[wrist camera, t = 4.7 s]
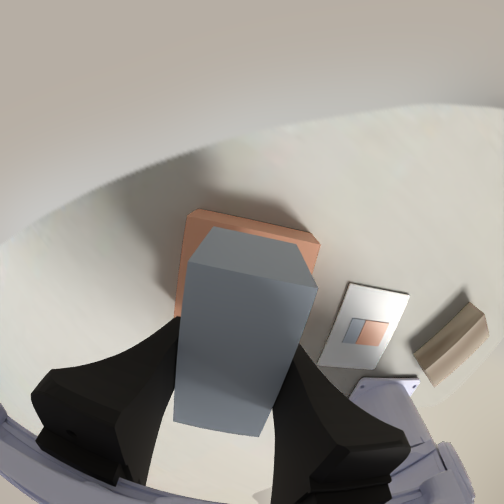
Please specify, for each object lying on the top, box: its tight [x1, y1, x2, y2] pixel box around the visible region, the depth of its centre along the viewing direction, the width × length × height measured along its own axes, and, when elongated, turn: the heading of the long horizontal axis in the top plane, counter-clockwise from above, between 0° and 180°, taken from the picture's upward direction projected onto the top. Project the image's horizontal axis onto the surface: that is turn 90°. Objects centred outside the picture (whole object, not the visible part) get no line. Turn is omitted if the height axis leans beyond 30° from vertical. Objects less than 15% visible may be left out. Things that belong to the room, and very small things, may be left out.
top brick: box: [173, 226, 318, 437], centre depth 12 cm, size 8×4×5 cm, turn 168°
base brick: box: [174, 209, 321, 317], centre depth 18 cm, size 8×8×3 cm
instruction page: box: [317, 283, 410, 370], centre depth 21 cm, size 8×6×1 cm
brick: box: [413, 302, 489, 387], centre depth 20 cm, size 4×8×3 cm, turn 132°
